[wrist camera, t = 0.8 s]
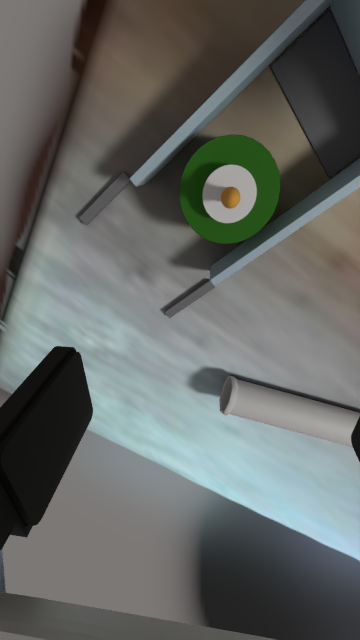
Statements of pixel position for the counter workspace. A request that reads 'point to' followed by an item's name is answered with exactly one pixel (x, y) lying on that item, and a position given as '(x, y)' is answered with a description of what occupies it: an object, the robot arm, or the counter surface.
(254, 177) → the candle
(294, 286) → the counter surface
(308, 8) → the pale blue tray
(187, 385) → the counter surface
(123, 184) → the strips
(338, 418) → the tube
